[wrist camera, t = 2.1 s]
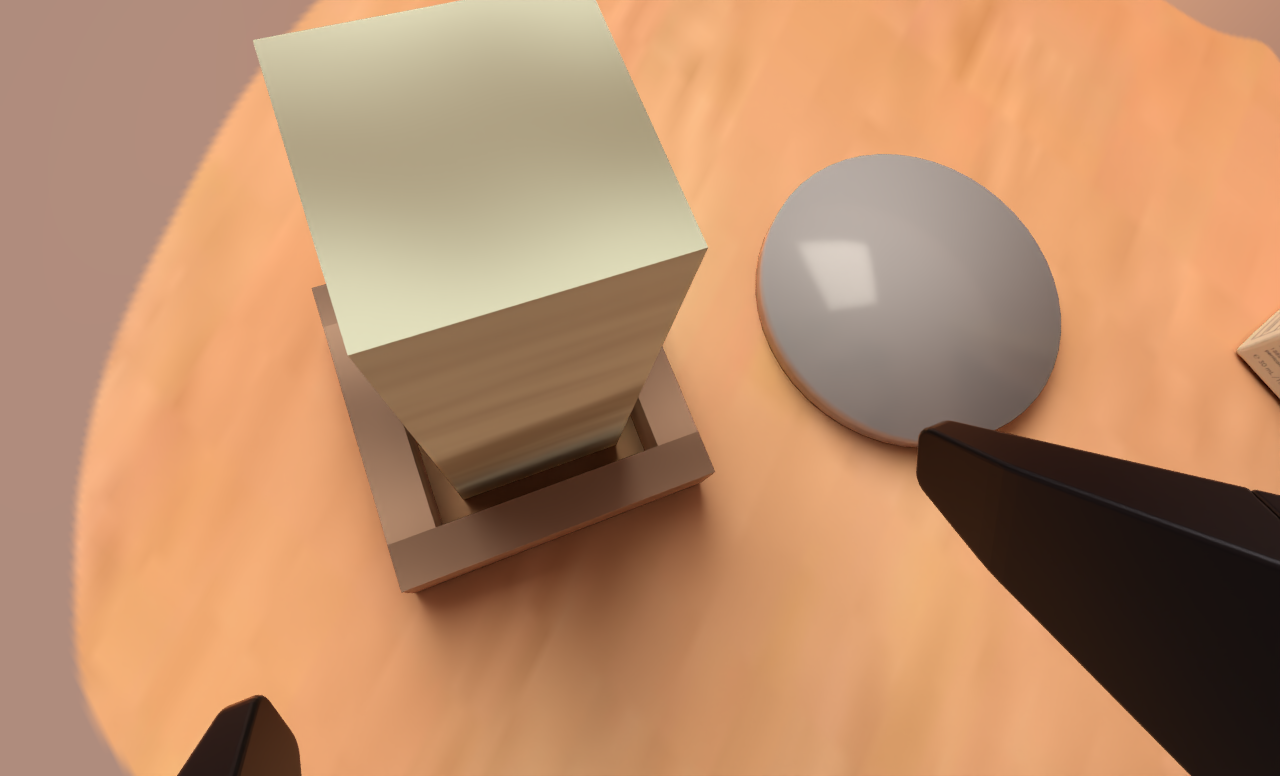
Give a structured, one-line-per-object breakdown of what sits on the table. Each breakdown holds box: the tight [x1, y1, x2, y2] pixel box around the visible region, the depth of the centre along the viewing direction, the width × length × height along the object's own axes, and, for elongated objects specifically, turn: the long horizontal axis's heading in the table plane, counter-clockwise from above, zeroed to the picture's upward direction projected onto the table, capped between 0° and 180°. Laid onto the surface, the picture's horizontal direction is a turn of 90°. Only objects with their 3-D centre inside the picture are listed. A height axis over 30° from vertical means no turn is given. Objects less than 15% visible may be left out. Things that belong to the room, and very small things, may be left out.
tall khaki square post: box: [253, 0, 708, 499], centre depth 16 cm, size 5×5×13 cm
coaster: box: [756, 154, 1061, 448], centre depth 24 cm, size 11×11×1 cm
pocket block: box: [312, 284, 715, 593], centre depth 21 cm, size 9×9×2 cm
